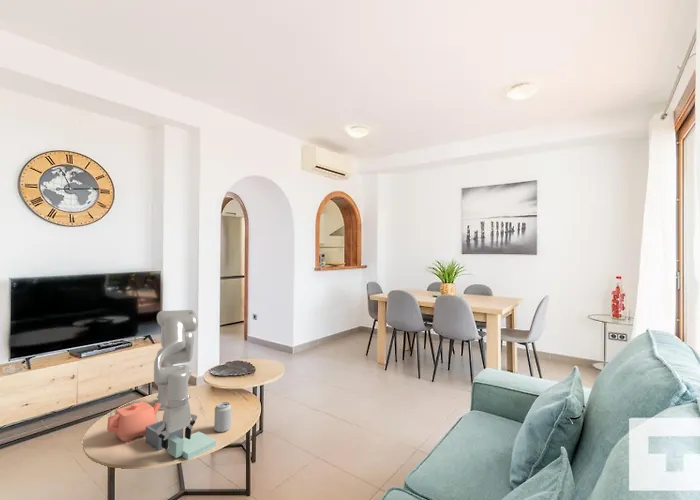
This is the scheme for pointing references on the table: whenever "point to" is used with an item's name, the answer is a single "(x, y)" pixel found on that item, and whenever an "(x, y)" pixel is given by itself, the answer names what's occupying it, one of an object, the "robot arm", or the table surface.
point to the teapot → (132, 420)
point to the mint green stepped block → (190, 445)
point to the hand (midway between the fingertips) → (176, 443)
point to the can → (222, 417)
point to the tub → (154, 439)
